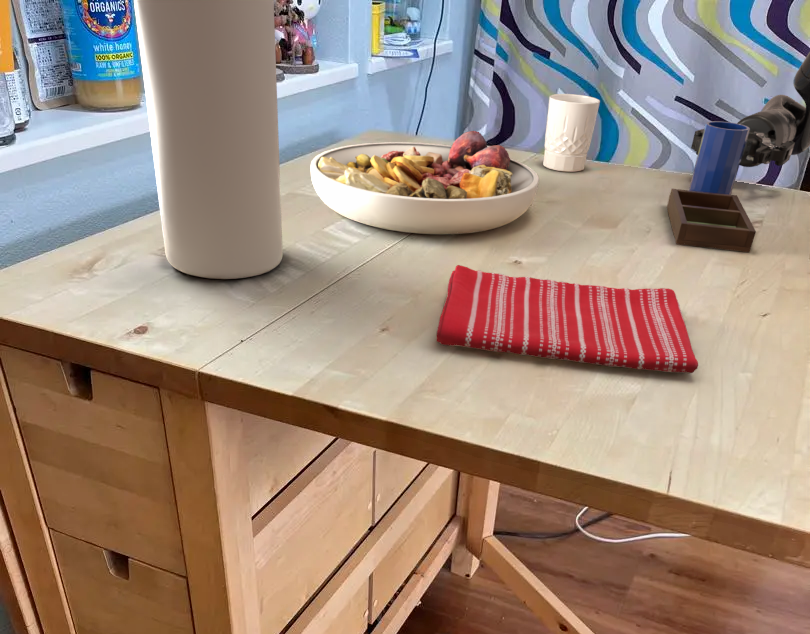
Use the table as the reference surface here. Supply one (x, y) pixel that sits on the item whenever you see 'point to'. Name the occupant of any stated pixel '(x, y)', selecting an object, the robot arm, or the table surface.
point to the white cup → (569, 131)
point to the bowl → (425, 185)
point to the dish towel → (566, 321)
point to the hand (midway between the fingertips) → (727, 152)
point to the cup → (719, 157)
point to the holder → (710, 220)
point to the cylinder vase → (214, 132)
